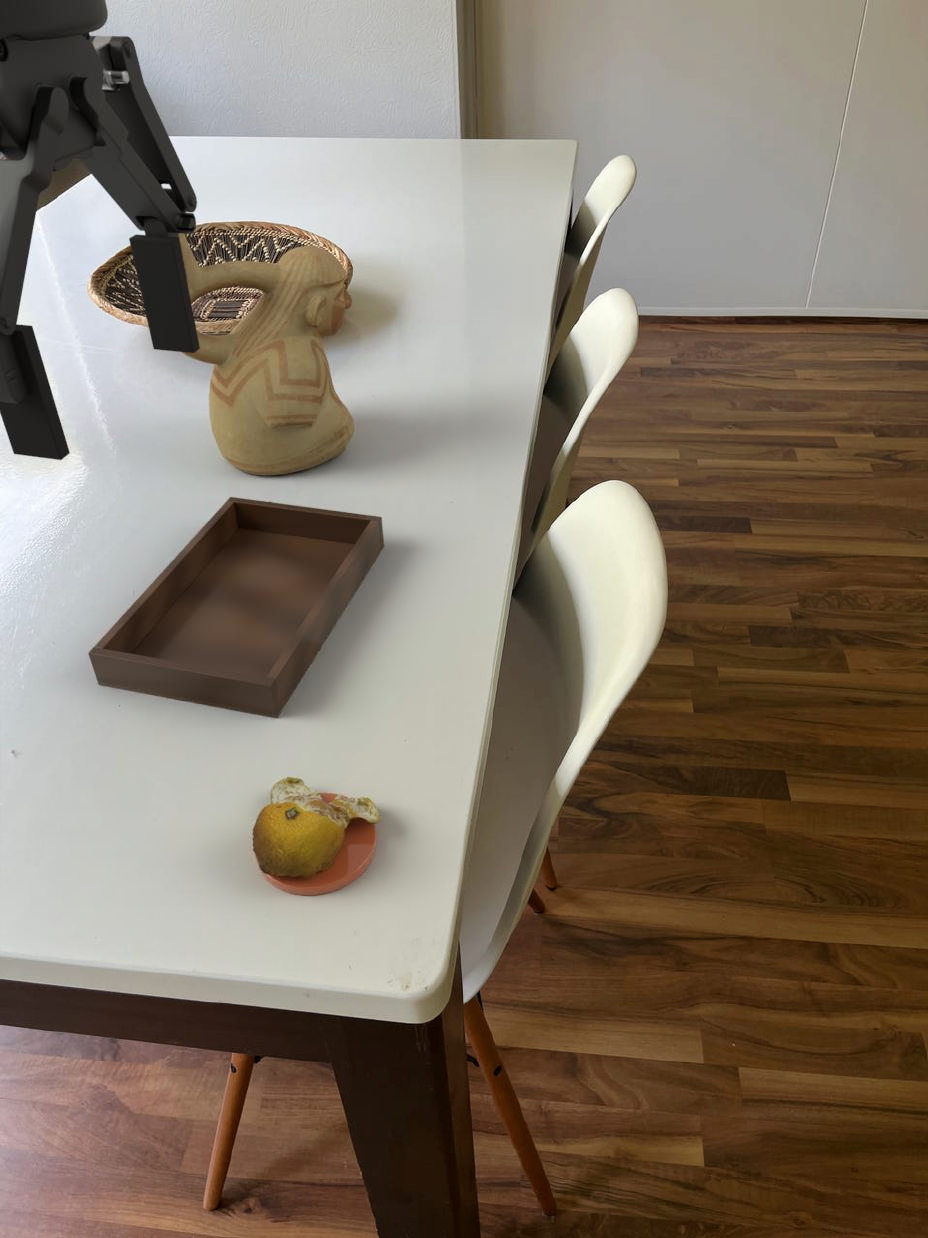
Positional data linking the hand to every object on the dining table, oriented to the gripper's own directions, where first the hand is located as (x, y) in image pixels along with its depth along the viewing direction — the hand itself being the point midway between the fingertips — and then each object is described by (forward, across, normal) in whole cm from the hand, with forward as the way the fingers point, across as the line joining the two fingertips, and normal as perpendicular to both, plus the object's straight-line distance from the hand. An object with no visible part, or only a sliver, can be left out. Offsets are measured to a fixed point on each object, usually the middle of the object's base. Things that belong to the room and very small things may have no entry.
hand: (116, 397), depth 54 cm
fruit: (+28, -4, -10) cm, 30 cm away
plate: (+29, -5, -10) cm, 31 cm away
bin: (+29, +18, +5) cm, 34 cm away
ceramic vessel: (+29, +46, +15) cm, 56 cm away
